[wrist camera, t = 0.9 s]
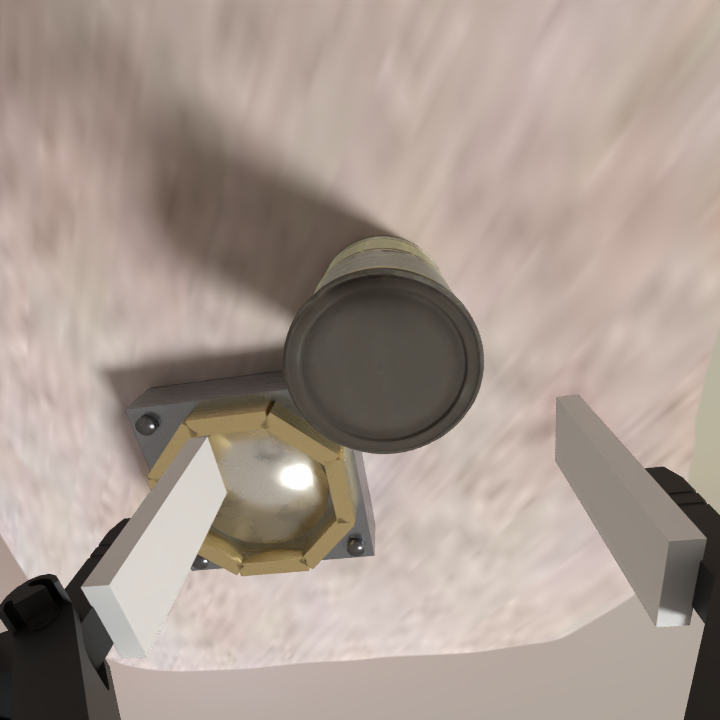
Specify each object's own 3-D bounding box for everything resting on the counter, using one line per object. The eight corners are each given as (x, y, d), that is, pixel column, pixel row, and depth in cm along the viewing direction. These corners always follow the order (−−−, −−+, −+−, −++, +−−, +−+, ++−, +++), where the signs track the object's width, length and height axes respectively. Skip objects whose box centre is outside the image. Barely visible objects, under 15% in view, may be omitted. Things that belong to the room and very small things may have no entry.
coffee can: (465, 328, 36) (513, 414, 23) (353, 376, 38) (338, 479, 25) (415, 210, 32) (437, 231, 19) (296, 269, 35) (244, 324, 22)
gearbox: (149, 388, 39) (112, 421, 34) (344, 362, 37) (338, 393, 32) (207, 539, 46) (184, 586, 41) (375, 524, 44) (374, 571, 39)
